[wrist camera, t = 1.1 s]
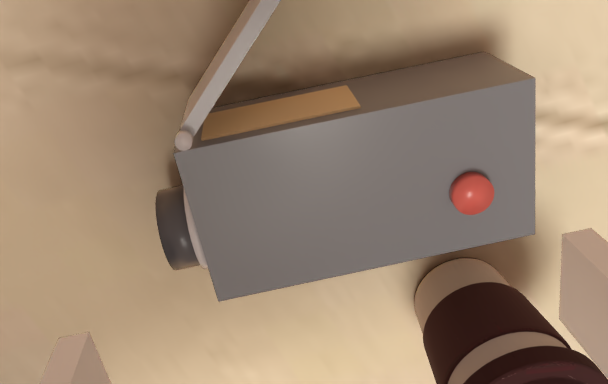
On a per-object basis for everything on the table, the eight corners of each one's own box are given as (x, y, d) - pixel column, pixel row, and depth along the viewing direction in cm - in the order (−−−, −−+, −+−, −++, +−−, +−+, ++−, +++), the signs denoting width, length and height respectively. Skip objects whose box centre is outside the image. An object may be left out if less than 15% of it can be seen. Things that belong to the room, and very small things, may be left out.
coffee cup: (405, 355, 48) (471, 525, 34) (387, 257, 43) (455, 409, 30) (519, 326, 48) (631, 486, 34) (513, 226, 43) (639, 364, 30)
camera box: (188, 250, 41) (178, 317, 34) (142, 104, 36) (119, 147, 29) (489, 186, 41) (541, 240, 34) (484, 33, 37) (542, 60, 30)
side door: (199, 105, 36) (193, 137, 30) (179, 93, 35) (169, 124, 30) (288, -36, 33) (298, -28, 27) (268, -51, 32) (274, -45, 27)
